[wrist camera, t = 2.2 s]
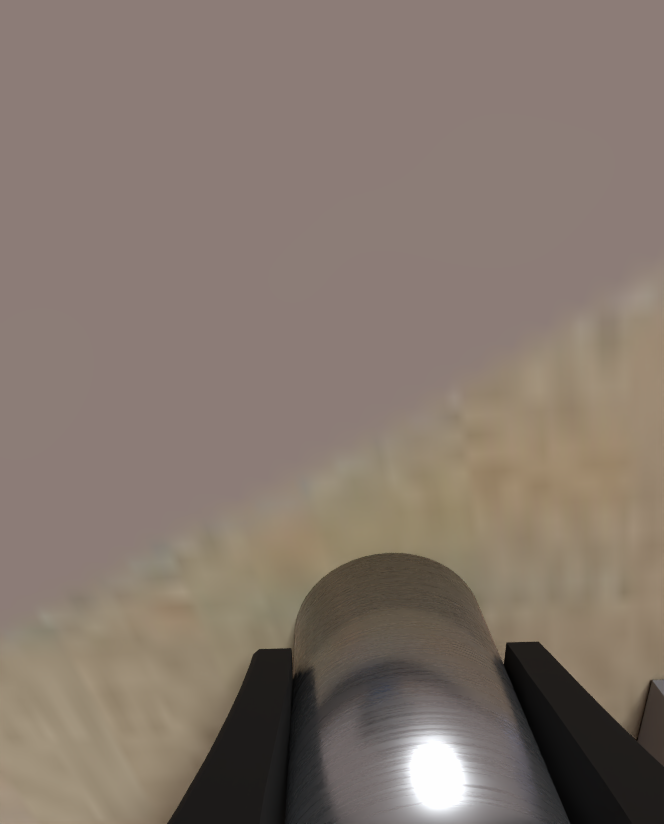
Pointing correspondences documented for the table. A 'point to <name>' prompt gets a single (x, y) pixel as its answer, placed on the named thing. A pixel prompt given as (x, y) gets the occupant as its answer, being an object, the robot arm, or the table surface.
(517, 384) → the table surface
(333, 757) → the cylinder
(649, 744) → the scale
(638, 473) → the table surface
